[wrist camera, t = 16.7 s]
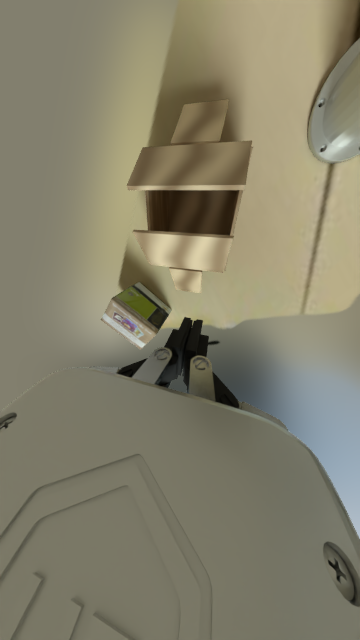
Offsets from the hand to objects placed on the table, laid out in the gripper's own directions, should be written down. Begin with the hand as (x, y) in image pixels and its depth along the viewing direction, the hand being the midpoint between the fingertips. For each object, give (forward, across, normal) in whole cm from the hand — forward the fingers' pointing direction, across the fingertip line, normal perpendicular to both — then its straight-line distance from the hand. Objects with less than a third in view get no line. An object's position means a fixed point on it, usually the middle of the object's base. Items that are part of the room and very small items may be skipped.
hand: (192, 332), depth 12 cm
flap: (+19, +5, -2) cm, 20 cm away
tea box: (+31, +20, +15) cm, 40 cm away
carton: (+31, +5, -10) cm, 33 cm away
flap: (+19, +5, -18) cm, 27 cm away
